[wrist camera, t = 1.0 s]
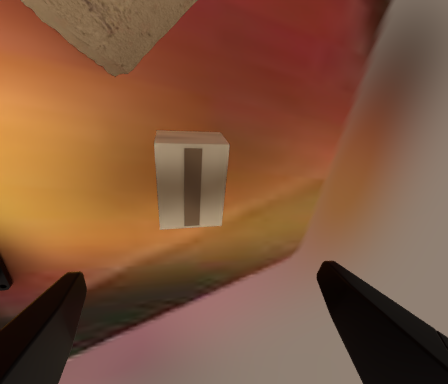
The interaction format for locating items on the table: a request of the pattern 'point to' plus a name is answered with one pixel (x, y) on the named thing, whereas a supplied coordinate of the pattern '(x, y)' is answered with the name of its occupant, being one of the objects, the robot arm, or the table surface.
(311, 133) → the table surface
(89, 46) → the clay tablet
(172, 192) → the taped cardboard box
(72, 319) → the robot arm
